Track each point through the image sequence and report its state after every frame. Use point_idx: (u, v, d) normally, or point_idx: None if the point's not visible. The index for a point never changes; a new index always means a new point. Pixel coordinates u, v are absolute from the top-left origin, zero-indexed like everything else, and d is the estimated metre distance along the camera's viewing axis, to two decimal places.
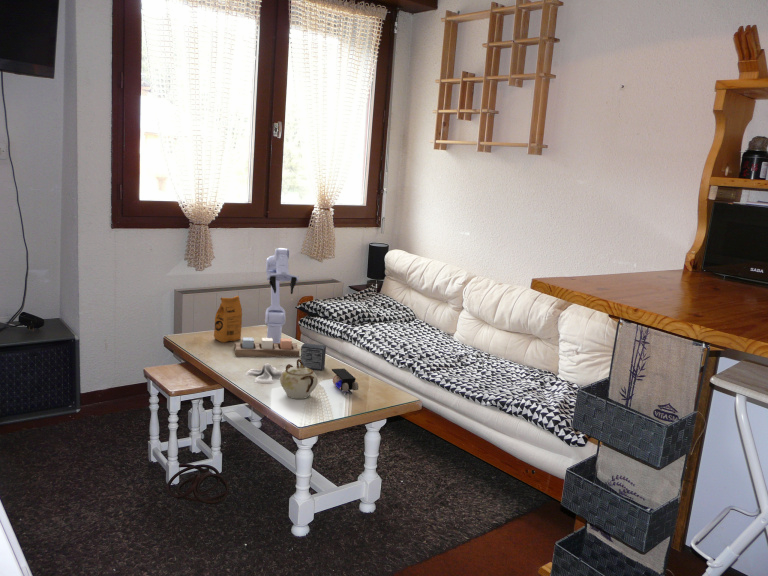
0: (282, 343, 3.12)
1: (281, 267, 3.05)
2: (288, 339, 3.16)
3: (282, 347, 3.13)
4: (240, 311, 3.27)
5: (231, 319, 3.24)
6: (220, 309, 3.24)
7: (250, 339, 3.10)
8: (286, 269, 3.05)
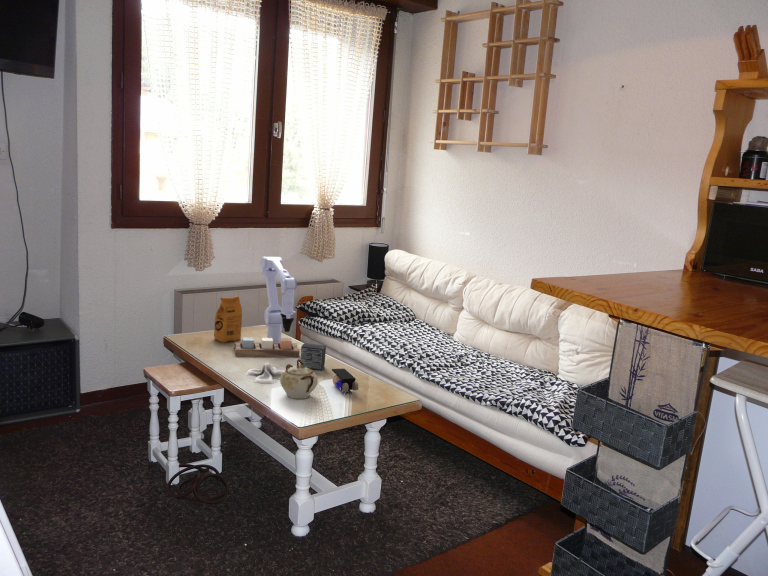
0: (282, 343, 3.12)
1: (293, 305, 3.15)
2: (288, 339, 3.16)
3: (282, 347, 3.13)
4: (240, 311, 3.27)
5: (231, 319, 3.24)
6: (220, 309, 3.24)
7: (250, 339, 3.10)
8: None
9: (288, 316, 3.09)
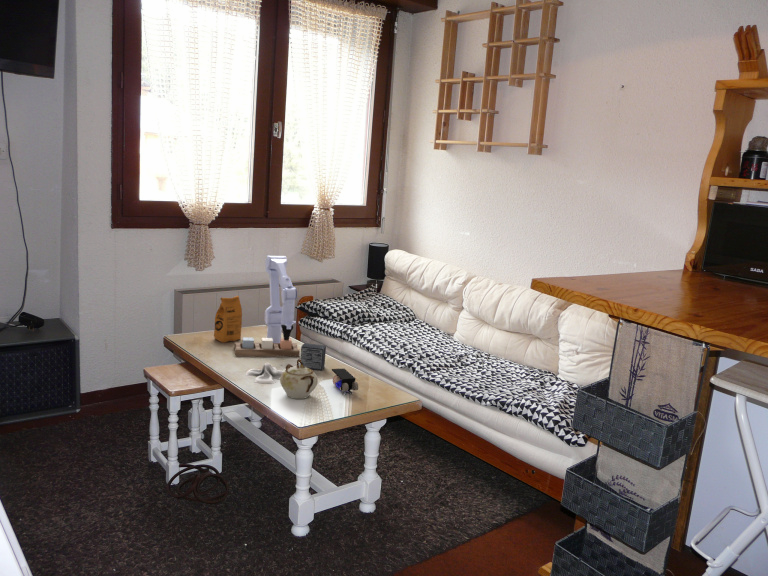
0: (282, 343, 3.12)
1: (293, 315, 3.12)
2: None
3: (282, 347, 3.13)
4: (240, 311, 3.27)
5: (231, 319, 3.24)
6: (220, 309, 3.24)
7: (250, 339, 3.10)
8: None
9: (288, 327, 3.06)
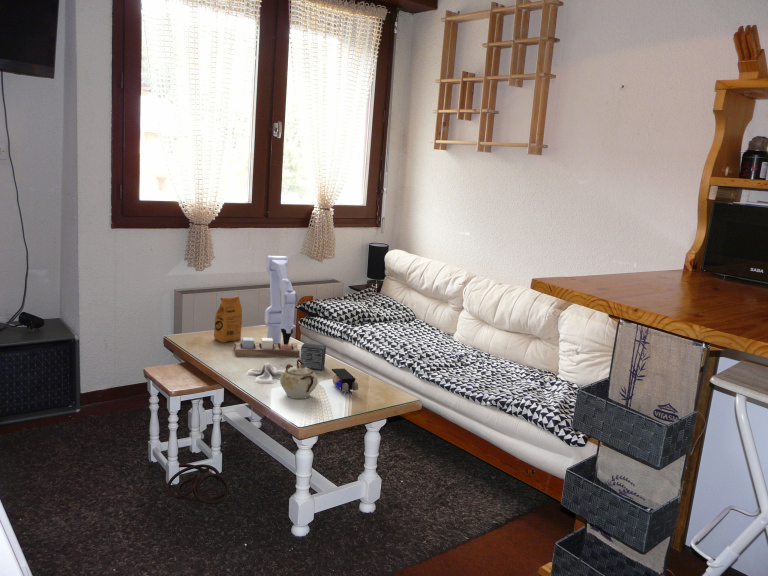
0: (282, 347, 3.13)
1: (293, 319, 3.13)
2: (288, 343, 3.16)
3: None
4: (240, 311, 3.27)
5: (231, 319, 3.24)
6: (220, 309, 3.24)
7: (250, 339, 3.10)
8: None
9: (288, 331, 3.07)
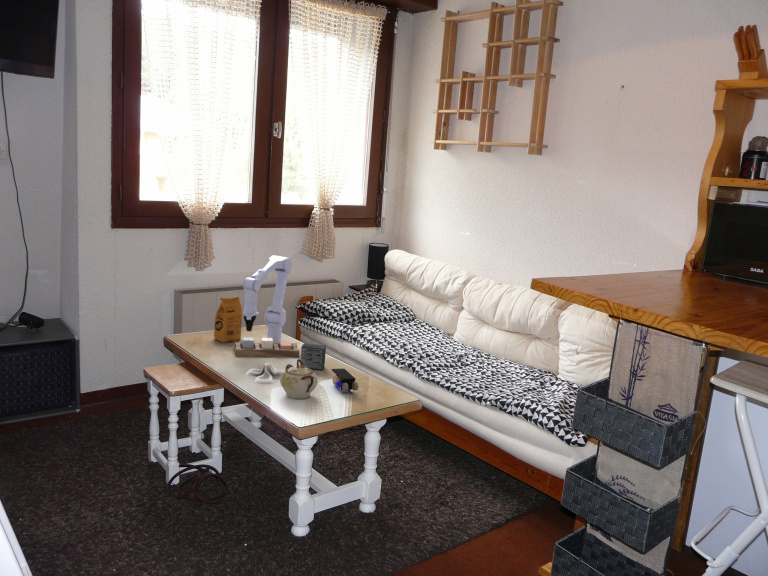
0: (282, 347, 3.13)
1: (256, 306, 3.07)
2: (288, 343, 3.16)
3: None
4: (240, 311, 3.27)
5: (231, 319, 3.24)
6: (220, 309, 3.24)
7: (250, 339, 3.10)
8: None
9: (248, 317, 3.01)
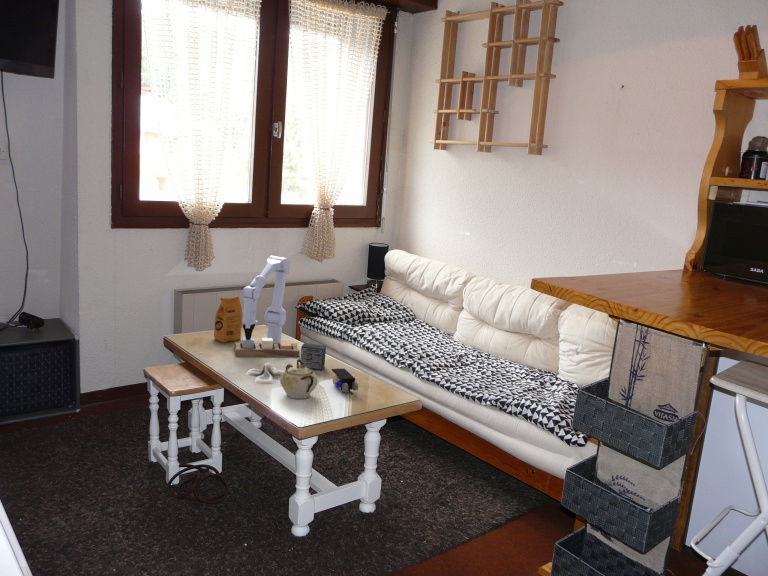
0: (282, 347, 3.13)
1: (255, 314, 3.07)
2: (288, 343, 3.16)
3: None
4: (240, 311, 3.27)
5: (231, 319, 3.24)
6: (220, 309, 3.24)
7: (250, 339, 3.10)
8: None
9: (247, 326, 3.01)
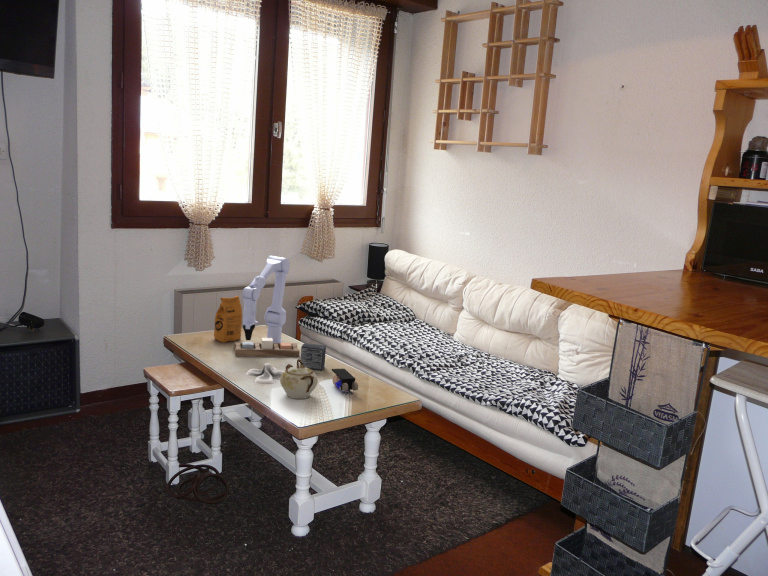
0: (282, 347, 3.13)
1: (255, 315, 3.07)
2: (288, 343, 3.16)
3: None
4: (240, 311, 3.27)
5: (231, 319, 3.24)
6: (220, 309, 3.24)
7: (250, 343, 3.10)
8: None
9: (247, 327, 3.02)
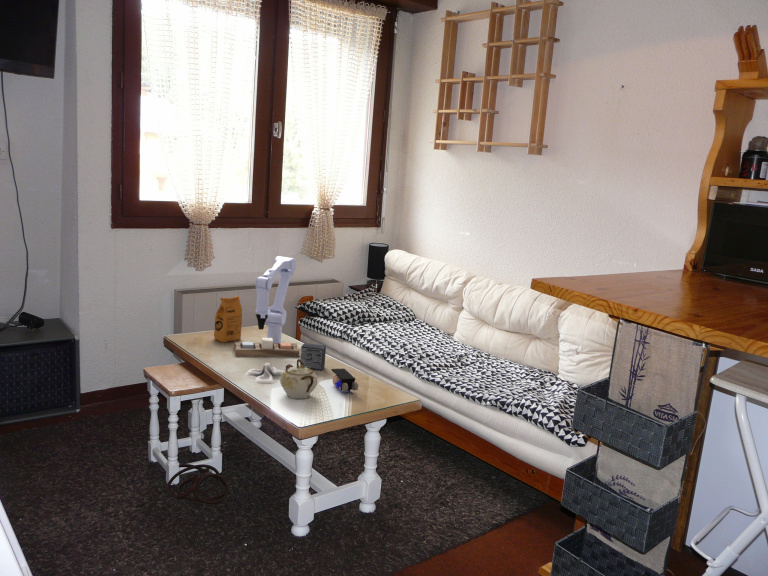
0: (282, 347, 3.13)
1: None
2: (288, 343, 3.16)
3: None
4: (240, 311, 3.27)
5: (231, 319, 3.24)
6: (220, 309, 3.24)
7: (250, 343, 3.10)
8: None
9: (262, 316, 3.06)
